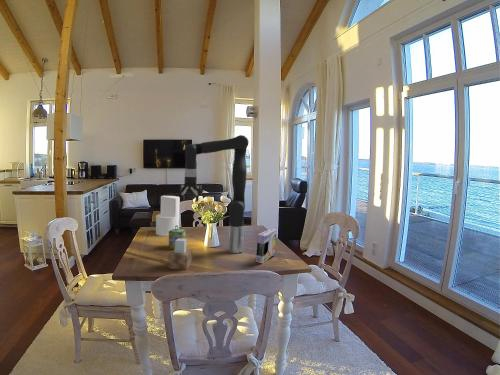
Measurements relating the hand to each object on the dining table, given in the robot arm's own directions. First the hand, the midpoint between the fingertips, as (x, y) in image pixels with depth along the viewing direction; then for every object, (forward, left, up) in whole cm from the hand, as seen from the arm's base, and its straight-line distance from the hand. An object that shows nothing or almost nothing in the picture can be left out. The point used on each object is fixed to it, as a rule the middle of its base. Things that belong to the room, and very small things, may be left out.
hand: (189, 201), depth 206 cm
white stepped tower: (+27, -39, -32) cm, 57 cm away
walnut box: (-3, +29, -32) cm, 43 cm away
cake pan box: (-50, +8, -32) cm, 60 cm away
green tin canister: (+9, -5, -32) cm, 34 cm away
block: (-3, +29, -24) cm, 38 cm away
